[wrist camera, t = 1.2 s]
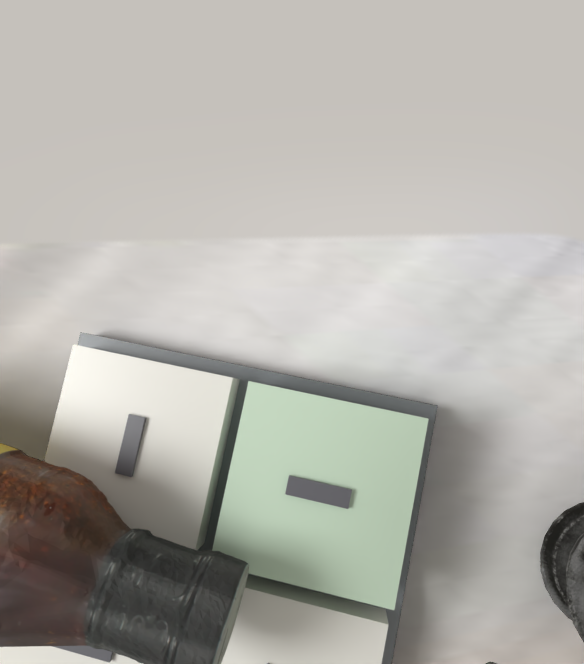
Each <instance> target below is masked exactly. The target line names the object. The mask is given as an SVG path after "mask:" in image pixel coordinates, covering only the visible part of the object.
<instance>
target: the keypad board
mask: <svg viewBox="0 0 584 664" xmlns="http://www.w3.org/2000/svg"><path fill="white" fill-rule="evenodd" d="M248 381H251V382H256V383H260V384H265V385H270V386H275V387H280V388H284V389H289V390H294V391H299V392H303V393H308V394H313V395H318V396H323V397H327V398H332V399H337V400H342V401H346V402H351V403H356V404H361V405H366V406H370V407H375V408H380V409H385V410H389V411H394V412H399V413H404V414H409V415H413V416H418V417H423V418H428V419H429V420H428V425H427V431H426V436H425V442H424V448H423V453H422V459H421V464H420V470H419V476H418V481H417V487H416V492H415V498H414V503H413V509H412V515H411V520H410V526H409V531H408V537H407V542H406V548H405V554H404V559H403V565H402V570H401V576H400V581H399V587H398V593H397V598H396V604H395V609H394V610H391V609H387V608H383V607H379V606H375V605H371V604H367V603H363V602H359V601H355V600H351V599H347V598H343V597H339V596H335V595H331V594H327V593H324V592H320V591H316V590H312V589H308V588H304V587H300V586H296V585H292V584H288V583H284V582H280V581H276V580H272V579H268V578H264V577H260V576H256V575H252V574H249V573H248V577H247V581H246V585H245V589H244V593H243V597H242V600H241V604H240V607H239V611H238V614H237V618H236V621H235V625H234V628H233V631H232V634H231V637H230V640H229V643H228V646H227V649H226V652H225V655H224V657H223V660H222V662H221V664H392V659H393V653H394V647H395V642H396V636H397V630H398V625H399V619H400V614H401V608H402V602H403V597H404V591H405V585H406V580H407V574H408V569H409V563H410V557H411V552H412V546H413V541H414V535H415V529H416V524H417V518H418V512H419V507H420V501H421V496H422V490H423V484H424V479H425V473H426V468H427V462H428V456H429V451H430V445H431V439H432V434H433V428H434V423H435V417H436V411H437V406H436V405H432V404H427V403H422V402H417V401H412V400H407V399H402V398H398V397H393V396H388V395H383V394H378V393H373V392H368V391H364V390H359V389H354V388H349V387H344V386H339V385H334V384H330V383H325V382H320V381H315V380H310V379H305V378H300V377H296V376H291V375H286V374H281V373H276V372H271V371H266V370H262V369H257V368H252V367H247V366H242V365H237V364H233V363H228V362H223V361H218V360H213V359H208V358H203V357H199V356H194V355H189V354H184V353H179V352H174V351H169V350H165V349H160V348H155V347H150V346H145V345H140V344H135V343H131V342H126V341H121V340H116V339H111V338H106V337H101V336H97V335H92V334H87V333H82V332H81V333H80V337H79V341H78V345H74V344H73V347H72V351H71V355H70V359H69V363H68V367H67V371H66V375H65V379H64V383H63V387H62V391H61V395H60V399H59V403H58V407H57V411H56V415H55V419H54V423H53V427H52V431H51V435H50V439H49V443H48V447H47V451H46V455H45V459H44V461H45V462H47V463H48V464H52V465H55V466H59V467H65V468H68V469H70V470H72V471H74V472H76V473H79V474H81V475H83V476H85V477H86V478H87V479H89V480H91V481H92V482H93V484H94V485H96V486H97V488H98V489H99V490H100V491H102V492H103V494H104V495H105V496H106V498H107V500H108V502H109V503H110V504H111V505H112V506H113V508H114V509H115V511H116V512H117V514H118V515H119V516H120V518H121V519H122V521H123V522H124V523H125V524H126V525H127V526H128V527H129V528H130V529H144V530H149V531H150V532H151V533H152V535H154V536H156V537H160V538H163V539H166V540H168V541H171V542H174V543H176V544H179V545H182V546H185V547H188V548H191V549H194V550H197V551H204V550H212V548H213V544H214V539H215V534H216V530H217V525H218V520H219V516H220V511H221V507H222V502H223V497H224V493H225V488H226V483H227V479H228V474H229V469H230V465H231V460H232V456H233V451H234V446H235V442H236V437H237V432H238V428H239V423H240V418H241V414H242V409H243V405H244V400H245V395H246V391H247V386H248ZM0 664H143V663H139V662H137V661H135V660H133V659H131V658H128V657H126V656H122V655H118V654H116V653H114V652H111V651H107V650H104V649H94V648H92V647H90V646H29V647H0Z"/></svg>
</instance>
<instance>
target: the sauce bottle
mask: <svg viewBox="0 0 584 664" xmlns="http://www.w3.org/2000/svg"><path fill="white" fill-rule="evenodd" d="M248 572H249V564H248V563H247V562H245V561H243V560H240V559H238V558H235V557H233V556H230V555H226V554H224V553H222V552H220V551H212V550H204V551H197V550H194V549H191V548H188V547H185V546H182V545H179V544H176V543H174V542H171V541H168V540H166V539H163V538H160V537H156V536H154V535H152V533H151V532H150V531H149V530H144V529H130V528H129V527H128V526H127V525H126V524H125V523H124V522H123V521H122V519H121V518H120V516H119V515H118V514H117V512H116V511H115V509H114V508H113V506H112V505H111V504H110V503H109V502H108V500H107V498H106V496H105V495H104V494H103V492H102V491H100V490H99V489H98V488H97V486H96V485H94V484H93V482H92V481H91V480H89V479H87V478H86V477H85V476H83V475H81V474H79V473H76V472H74V471H72V470H70V469H68V468H65V467H59V466H55V465H52V464H48V463H47V462H45V461H40V460H38V459H35V458H32V457H29V456H27V455H26V454H25V453H24V452H22V451H21V450H19V449H16V448H13V447H10V446H7V445H4V444H2V443H0V647H29V646H90V647H92V648H94V649H104V650H107V651H111V652H114V653H116V654H118V655H122V656H126V657H128V658H131V659H133V660H135V661H137V662H139V663H143V664H221V662H222V660H223V657H224V655H225V652H226V649H227V646H228V643H229V640H230V637H231V634H232V631H233V628H234V625H235V621H236V618H237V614H238V611H239V607H240V604H241V600H242V597H243V593H244V589H245V585H246V581H247V577H248Z"/></svg>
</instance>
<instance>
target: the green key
mask: <svg viewBox="0 0 584 664" xmlns="http://www.w3.org/2000/svg"><path fill="white" fill-rule="evenodd" d="M428 420H429V419H428V418H423V417H418V416H413V415H409V414H404V413H399V412H394V411H389V410H385V409H380V408H375V407H370V406H366V405H361V404H356V403H351V402H346V401H342V400H337V399H332V398H327V397H323V396H318V395H313V394H308V393H303V392H299V391H294V390H289V389H284V388H280V387H275V386H270V385H265V384H260V383H256V382H251V381H248V386H247V391H246V395H245V400H244V405H243V409H242V414H241V418H240V423H239V428H238V432H237V437H236V442H235V446H234V451H233V456H232V460H231V465H230V469H229V474H228V479H227V483H226V488H225V493H224V497H223V502H222V507H221V511H220V516H219V520H218V525H217V530H216V534H215V539H214V544H213V548H212V551H220V552H222V553H224V554H226V555H230V556H233V557H235V558H238V559H240V560H243V561H245V562H247V563H248V564H249V572H248V573H249V574H252V575H256V576H260V577H264V578H268V579H272V580H276V581H280V582H284V583H288V584H292V585H296V586H300V587H304V588H308V589H312V590H316V591H320V592H324V593H327V594H331V595H335V596H339V597H343V598H347V599H351V600H355V601H359V602H363V603H367V604H371V605H375V606H379V607H383V608H387V609H391V610H394V609H395V604H396V598H397V593H398V587H399V581H400V576H401V570H402V565H403V559H404V554H405V548H406V542H407V537H408V531H409V526H410V520H411V515H412V509H413V503H414V498H415V492H416V487H417V481H418V476H419V470H420V464H421V459H422V453H423V448H424V442H425V436H426V431H427V425H428Z"/></svg>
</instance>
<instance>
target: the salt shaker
mask: <svg viewBox="0 0 584 664" xmlns="http://www.w3.org/2000/svg"><path fill="white" fill-rule="evenodd" d="M541 573H542V576H543V580H544V584H545V587H546V589H547V591H548V593H549V594H550V596H551V598H552V600H553V601H554V603H555V604H556V605H557V606H558V607H559V609H560V610H561V611H562V612H563V613H564V614H565V615H566V616H567V617H568V618H569V619H571V620H572V621H573V624H574V626H575V627H576V629H577V631H578V633H579V635H580V636H581V638H582V640H583V642H584V502H583V503H579V504H577V505H575V506H573V507H572V508H570V509H568V510H566V511H564V512H563V513H562V514H561V515H560V516H559V517H558V518H557V519H556V520H555V521H554V522H553V523H552V525H551V527H550V528H549V530H548V532H547V533H546V535H545V537H544V541H543V545H542V549H541Z"/></svg>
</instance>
